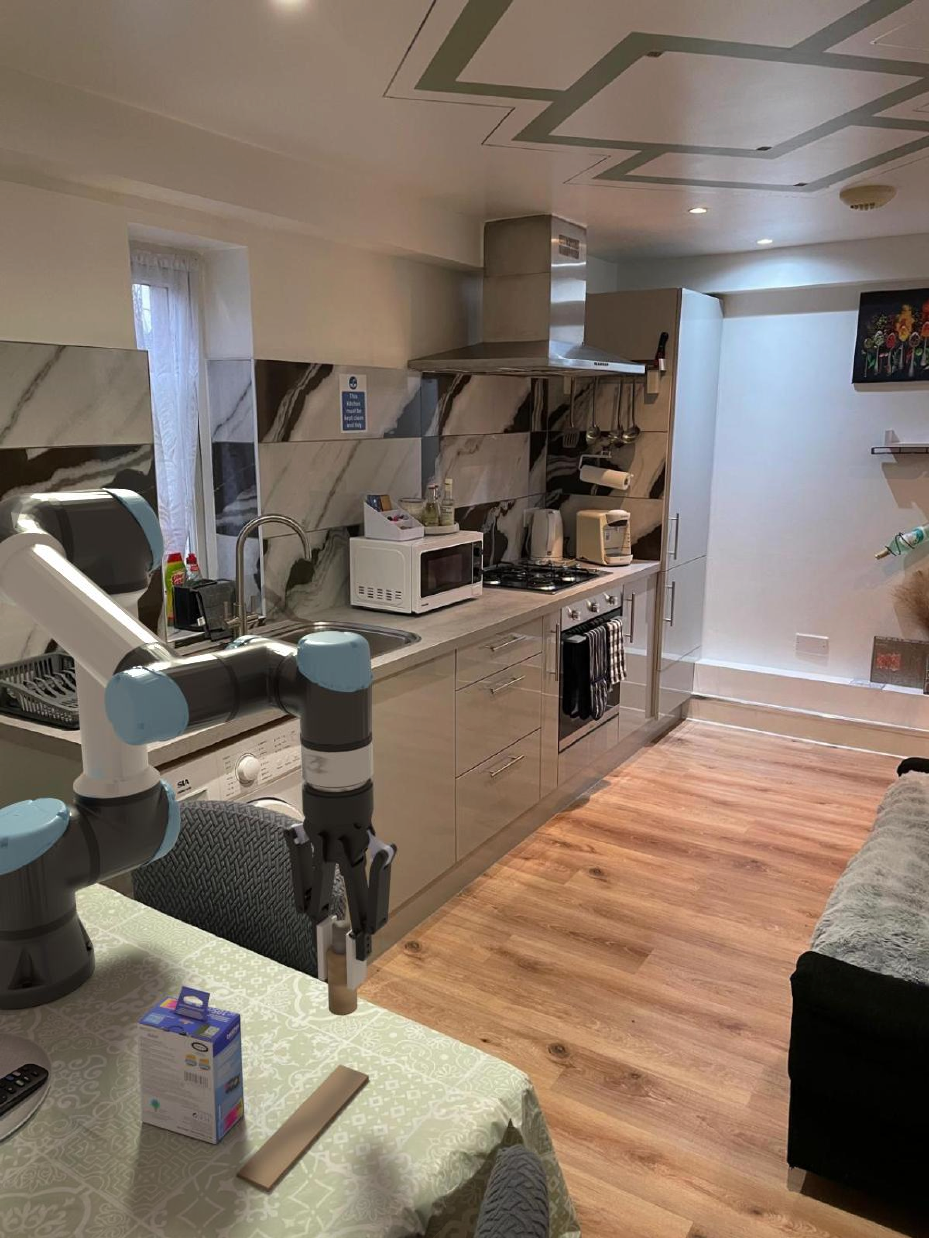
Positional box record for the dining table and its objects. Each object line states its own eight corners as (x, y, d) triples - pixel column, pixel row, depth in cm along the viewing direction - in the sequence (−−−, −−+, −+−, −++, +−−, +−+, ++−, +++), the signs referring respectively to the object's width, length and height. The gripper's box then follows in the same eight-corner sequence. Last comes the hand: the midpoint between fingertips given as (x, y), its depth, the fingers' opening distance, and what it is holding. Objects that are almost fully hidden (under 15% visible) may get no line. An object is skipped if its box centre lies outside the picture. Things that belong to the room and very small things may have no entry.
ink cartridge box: (248, 1111, 101) (242, 992, 98) (218, 1147, 96) (211, 1024, 93) (172, 1089, 104) (164, 974, 101) (140, 1123, 99) (131, 1003, 96)
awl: (322, 1010, 103) (320, 928, 101) (339, 994, 105) (337, 914, 103) (346, 1018, 101) (345, 935, 99) (363, 1002, 104) (361, 921, 102)
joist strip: (236, 1176, 92) (236, 1172, 92) (339, 1067, 108) (339, 1064, 108) (268, 1191, 91) (268, 1187, 91) (368, 1078, 106) (368, 1075, 106)
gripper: (253, 777, 98) (262, 975, 103) (383, 806, 91) (386, 1018, 96) (297, 755, 105) (303, 943, 109) (421, 780, 97) (422, 980, 102)
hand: (342, 977), depth 103 cm, fingers closed on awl, 3 cm apart
